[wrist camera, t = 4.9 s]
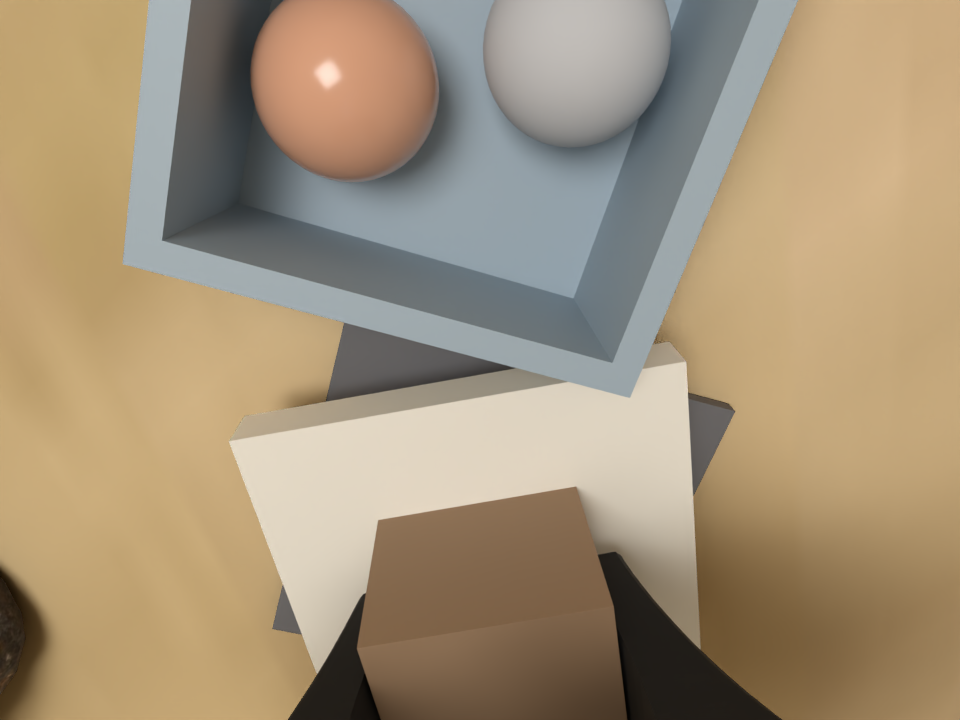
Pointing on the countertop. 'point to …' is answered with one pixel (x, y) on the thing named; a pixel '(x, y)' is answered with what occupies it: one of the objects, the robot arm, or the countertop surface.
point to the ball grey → (575, 65)
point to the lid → (481, 533)
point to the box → (446, 193)
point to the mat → (406, 363)
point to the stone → (9, 635)
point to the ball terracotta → (345, 86)
